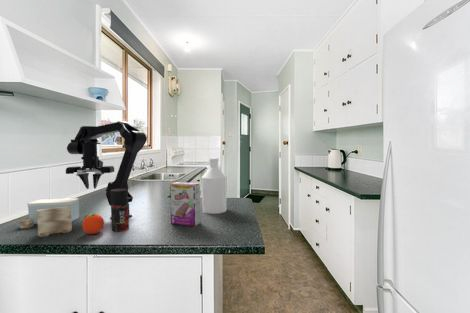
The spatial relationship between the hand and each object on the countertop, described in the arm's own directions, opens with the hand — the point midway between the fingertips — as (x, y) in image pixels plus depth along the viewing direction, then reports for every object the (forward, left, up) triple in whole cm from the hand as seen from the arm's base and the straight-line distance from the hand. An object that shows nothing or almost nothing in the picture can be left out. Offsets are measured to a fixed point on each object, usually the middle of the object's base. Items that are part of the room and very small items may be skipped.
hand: (91, 188), depth 114 cm
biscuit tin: (+7, +12, -12) cm, 19 cm away
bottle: (-48, -28, -12) cm, 57 cm away
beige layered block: (-9, +21, -12) cm, 26 cm away
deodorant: (-28, +9, -12) cm, 32 cm away
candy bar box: (-47, -6, -12) cm, 49 cm away
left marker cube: (+8, +22, -12) cm, 26 cm away
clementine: (-22, +16, -12) cm, 30 cm away
